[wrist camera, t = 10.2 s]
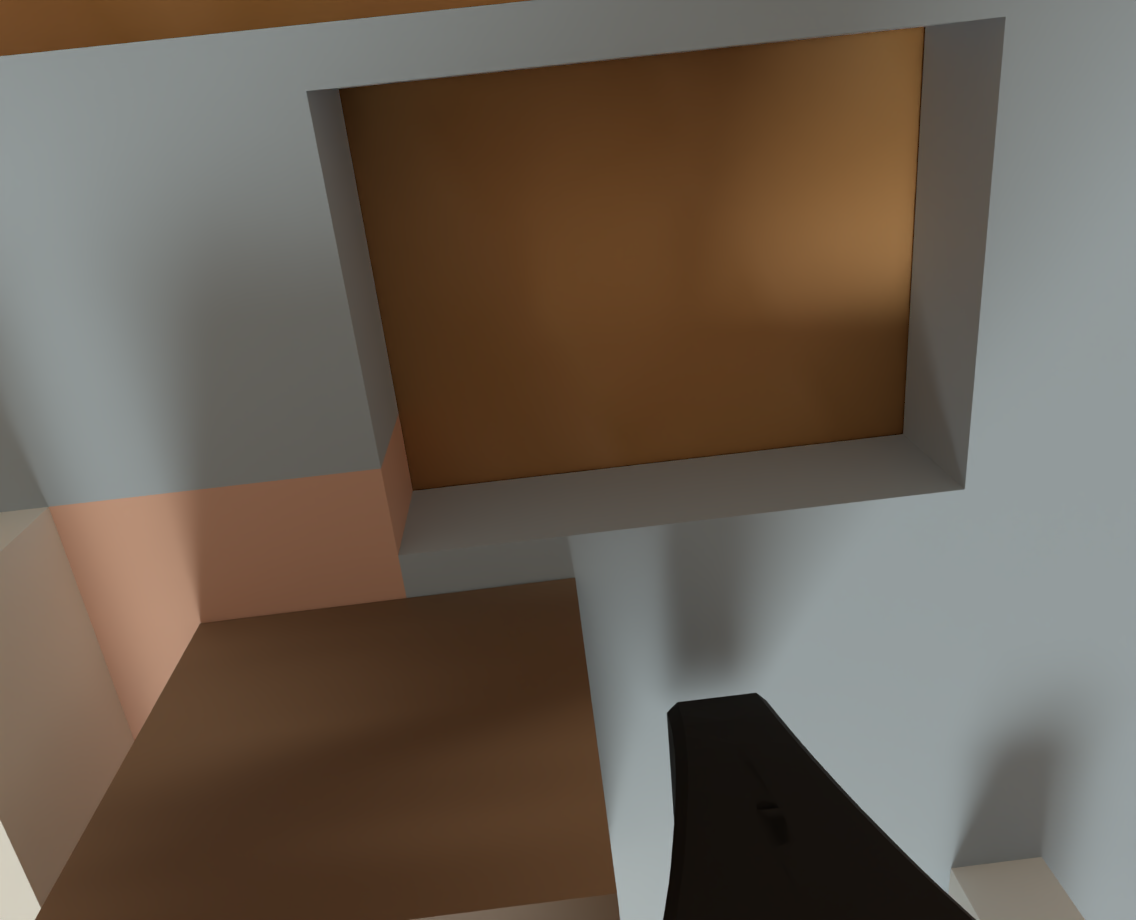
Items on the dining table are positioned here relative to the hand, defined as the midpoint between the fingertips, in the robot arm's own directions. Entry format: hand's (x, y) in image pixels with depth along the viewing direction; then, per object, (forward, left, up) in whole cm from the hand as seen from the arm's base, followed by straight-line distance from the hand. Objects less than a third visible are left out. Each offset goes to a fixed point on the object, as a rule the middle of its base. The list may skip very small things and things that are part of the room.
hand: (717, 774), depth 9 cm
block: (+3, 0, -1) cm, 3 cm away
